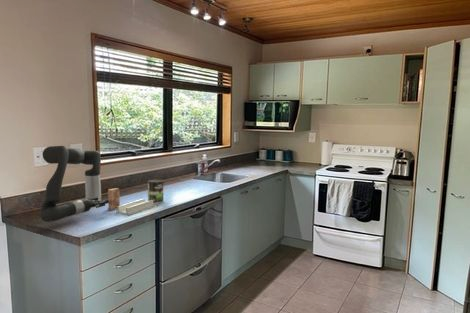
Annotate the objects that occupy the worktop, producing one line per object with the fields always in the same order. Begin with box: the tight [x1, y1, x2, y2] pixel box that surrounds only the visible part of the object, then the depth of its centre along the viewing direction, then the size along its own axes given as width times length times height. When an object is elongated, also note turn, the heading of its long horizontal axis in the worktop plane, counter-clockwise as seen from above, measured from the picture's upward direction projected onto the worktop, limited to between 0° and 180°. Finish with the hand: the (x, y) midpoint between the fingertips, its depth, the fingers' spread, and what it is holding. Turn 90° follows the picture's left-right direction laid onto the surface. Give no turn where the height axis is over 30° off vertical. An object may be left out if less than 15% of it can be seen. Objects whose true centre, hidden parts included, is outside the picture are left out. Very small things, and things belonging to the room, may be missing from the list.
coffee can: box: [147, 178, 164, 205], centre depth 226 cm, size 10×10×14 cm
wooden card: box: [107, 187, 121, 211], centre depth 209 cm, size 6×3×12 cm, turn 153°
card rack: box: [115, 198, 156, 216], centre depth 208 cm, size 22×10×4 cm, turn 153°
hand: (103, 200), depth 201 cm, fingers open, 8 cm apart
